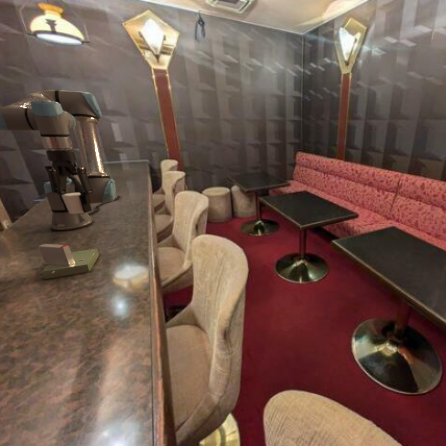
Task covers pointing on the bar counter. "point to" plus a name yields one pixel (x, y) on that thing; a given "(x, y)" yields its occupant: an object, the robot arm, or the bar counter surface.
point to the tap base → (82, 264)
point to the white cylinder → (73, 202)
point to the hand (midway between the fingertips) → (78, 210)
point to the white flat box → (56, 254)
